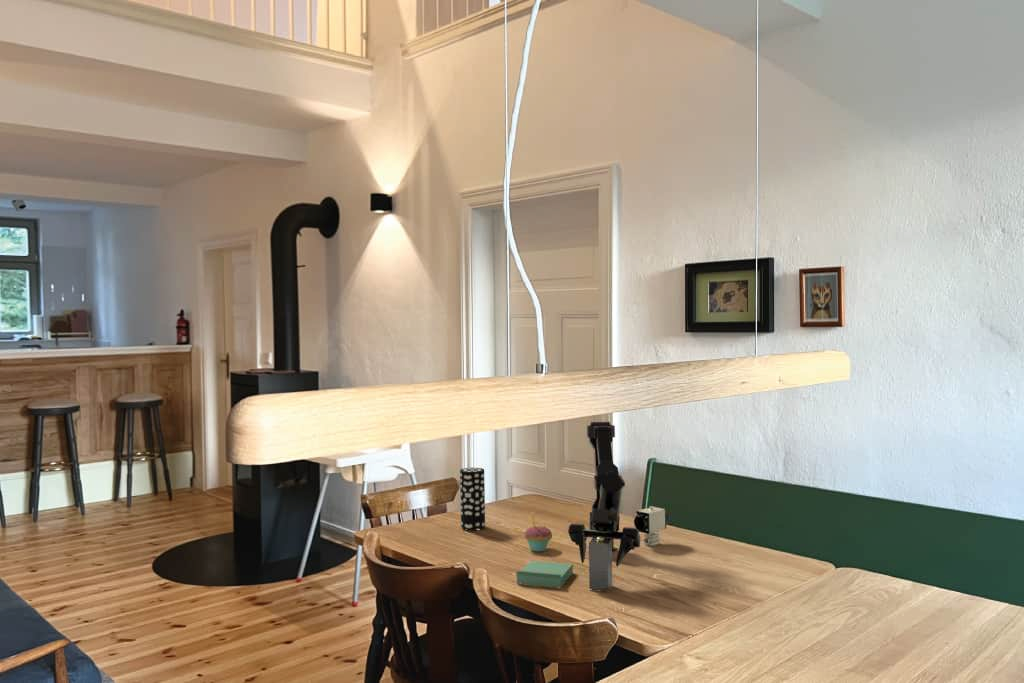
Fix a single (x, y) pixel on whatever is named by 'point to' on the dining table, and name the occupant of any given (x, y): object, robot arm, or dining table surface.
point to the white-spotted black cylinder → (472, 498)
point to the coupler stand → (544, 574)
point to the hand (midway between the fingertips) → (599, 564)
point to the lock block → (600, 564)
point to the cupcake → (537, 536)
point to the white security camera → (651, 523)
